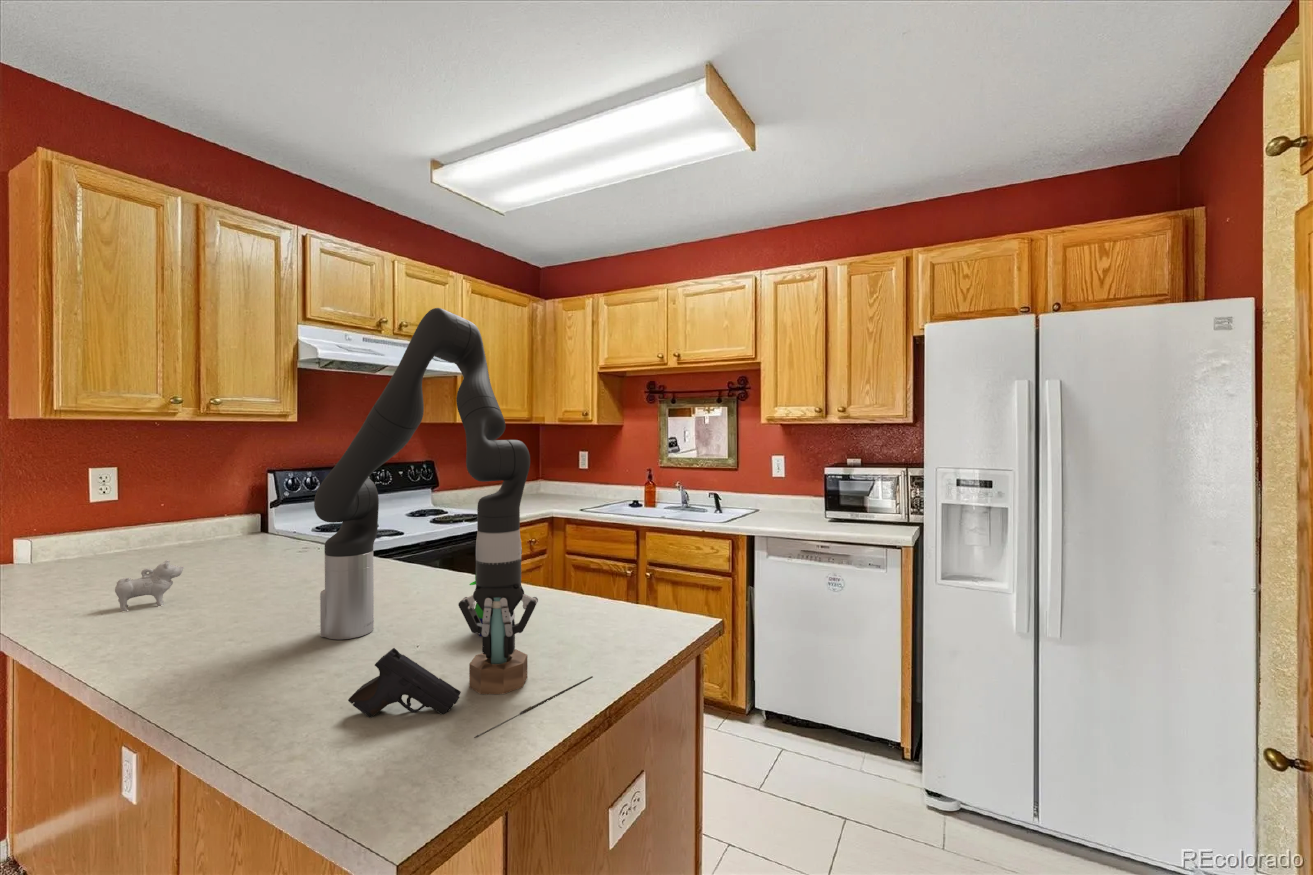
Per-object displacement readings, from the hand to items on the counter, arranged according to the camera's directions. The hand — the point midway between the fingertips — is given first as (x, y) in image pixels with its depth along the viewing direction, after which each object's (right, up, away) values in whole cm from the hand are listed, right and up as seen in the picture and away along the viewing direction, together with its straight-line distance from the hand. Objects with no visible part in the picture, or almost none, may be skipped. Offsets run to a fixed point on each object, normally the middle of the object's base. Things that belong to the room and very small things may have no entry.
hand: (498, 655), depth 99 cm
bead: (0, -5, 0) cm, 5 cm away
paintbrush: (+9, -5, -8) cm, 13 cm away
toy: (-8, -4, +25) cm, 27 cm away
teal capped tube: (0, -4, 0) cm, 4 cm away
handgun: (-11, -5, -10) cm, 16 cm away
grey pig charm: (-98, -4, +43) cm, 107 cm away
